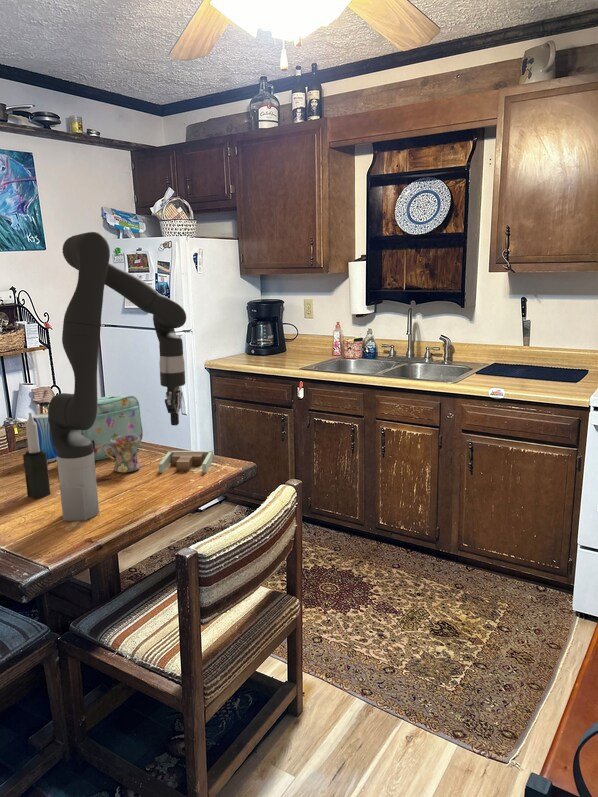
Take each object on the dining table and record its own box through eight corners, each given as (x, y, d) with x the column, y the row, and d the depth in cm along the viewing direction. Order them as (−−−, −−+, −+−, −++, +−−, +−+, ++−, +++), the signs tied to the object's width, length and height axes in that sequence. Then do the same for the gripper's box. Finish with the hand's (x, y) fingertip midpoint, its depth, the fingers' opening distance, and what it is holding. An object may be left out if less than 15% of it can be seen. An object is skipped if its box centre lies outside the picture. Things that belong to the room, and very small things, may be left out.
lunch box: (87, 466, 199) (81, 404, 194) (67, 461, 204) (61, 401, 199) (146, 446, 221) (142, 390, 216) (127, 442, 226) (123, 387, 221)
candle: (52, 493, 174) (43, 411, 169) (37, 499, 170) (27, 415, 165) (41, 490, 177) (32, 409, 171) (25, 496, 173) (16, 413, 167)
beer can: (34, 458, 208) (29, 414, 205) (60, 454, 211) (55, 411, 208) (35, 464, 201) (30, 419, 197) (61, 461, 204) (57, 416, 201)
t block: (198, 470, 193) (197, 461, 192) (167, 470, 193) (167, 461, 193) (203, 461, 203) (203, 452, 202) (174, 461, 203) (174, 453, 202)
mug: (143, 464, 200) (141, 434, 197) (139, 473, 191) (137, 442, 188) (107, 466, 198) (104, 436, 196) (101, 475, 189) (98, 444, 187)
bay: (206, 472, 191) (205, 464, 190) (159, 472, 191) (158, 464, 191) (213, 459, 205) (213, 450, 204) (169, 459, 205) (169, 451, 204)
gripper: (179, 373, 174) (182, 430, 177) (189, 366, 187) (191, 419, 190) (154, 373, 174) (157, 430, 177) (165, 366, 187) (168, 419, 190)
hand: (175, 424), depth 184 cm, fingers closed
